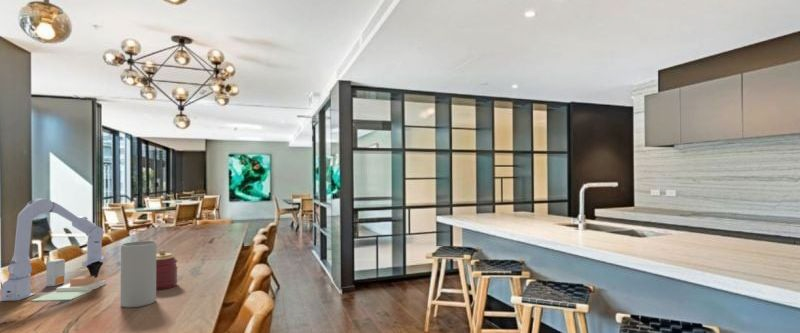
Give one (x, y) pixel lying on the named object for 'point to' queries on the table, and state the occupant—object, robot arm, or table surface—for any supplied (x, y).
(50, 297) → the mat
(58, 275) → the skincare box
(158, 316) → the table surface
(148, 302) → the cylinder vase
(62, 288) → the board
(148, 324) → the table surface
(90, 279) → the brick
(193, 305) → the table surface
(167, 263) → the canister
